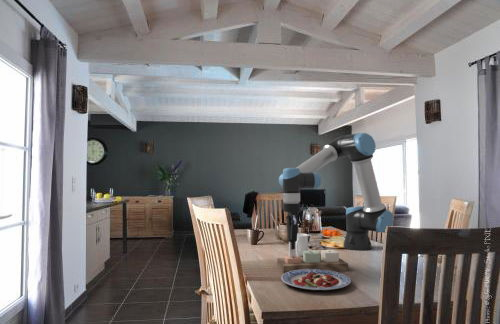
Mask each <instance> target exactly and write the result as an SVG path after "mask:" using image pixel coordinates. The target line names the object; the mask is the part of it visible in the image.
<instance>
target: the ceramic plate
mask: <svg viewBox="0 0 500 324" xmlns="http://www.w3.org/2000/svg"><path fill="white" fill-rule="evenodd" d="M280 279H281V281H282V282H283V283H285V284H287V285H288V286H290V287H295V288H299V289H301V290H302V289H303V290H307V291H308V290H309V291H316V290H323V291H330V290H337V289H342V288H344V287H345V288H346V287H347V286H349V285H350V284H351V282H352V280H351V278H350V277H349V276H348V275H346V274H344V273H342V272H340V271H330V270H321V269H301V270H294V271H290V272H287V273H283V274H282V275H281V278H280Z"/></svg>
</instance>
